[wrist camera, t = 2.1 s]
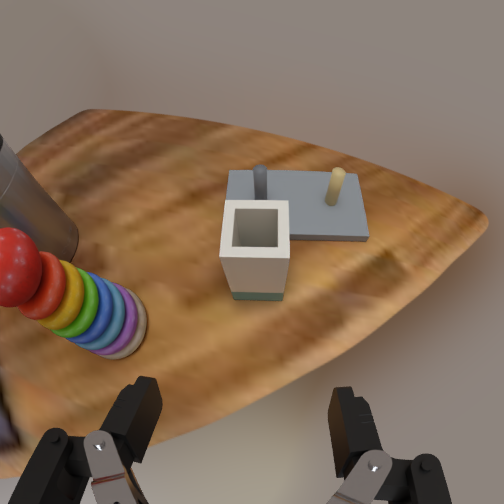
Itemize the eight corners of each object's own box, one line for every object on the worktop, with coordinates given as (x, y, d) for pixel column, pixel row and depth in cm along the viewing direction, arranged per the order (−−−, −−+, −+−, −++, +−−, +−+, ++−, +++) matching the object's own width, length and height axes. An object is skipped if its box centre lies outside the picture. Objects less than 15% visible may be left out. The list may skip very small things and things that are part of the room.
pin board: (223, 238, 32) (215, 206, 26) (230, 176, 36) (224, 140, 30) (366, 241, 31) (384, 210, 25) (354, 180, 35) (366, 145, 29)
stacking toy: (88, 293, 30) (-26, 204, 13) (148, 285, 30) (45, 172, 13) (88, 361, 26) (-52, 310, 9) (151, 358, 26) (14, 304, 10)
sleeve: (233, 299, 29) (219, 256, 20) (236, 256, 31) (225, 200, 22) (282, 300, 29) (289, 258, 20) (282, 256, 31) (288, 200, 22)
